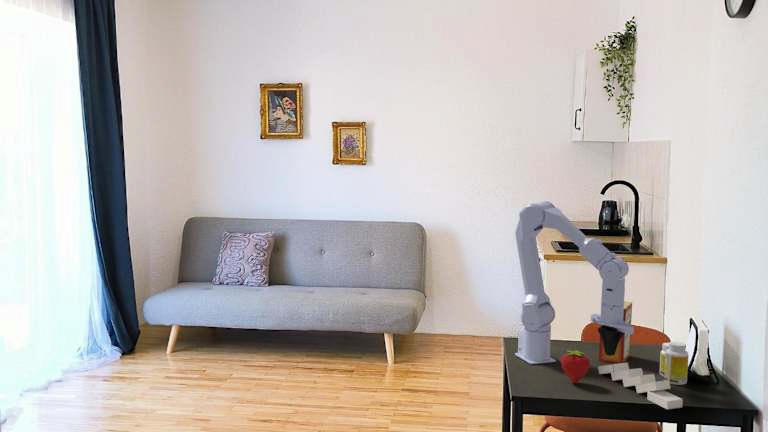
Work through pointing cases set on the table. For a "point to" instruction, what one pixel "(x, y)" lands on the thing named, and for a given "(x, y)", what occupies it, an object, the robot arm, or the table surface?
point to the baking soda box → (623, 344)
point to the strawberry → (575, 365)
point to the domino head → (613, 368)
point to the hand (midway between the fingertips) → (610, 354)
